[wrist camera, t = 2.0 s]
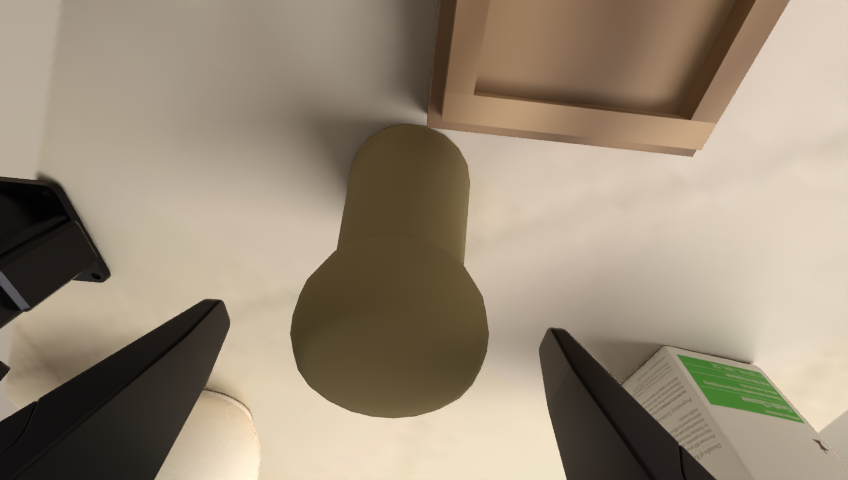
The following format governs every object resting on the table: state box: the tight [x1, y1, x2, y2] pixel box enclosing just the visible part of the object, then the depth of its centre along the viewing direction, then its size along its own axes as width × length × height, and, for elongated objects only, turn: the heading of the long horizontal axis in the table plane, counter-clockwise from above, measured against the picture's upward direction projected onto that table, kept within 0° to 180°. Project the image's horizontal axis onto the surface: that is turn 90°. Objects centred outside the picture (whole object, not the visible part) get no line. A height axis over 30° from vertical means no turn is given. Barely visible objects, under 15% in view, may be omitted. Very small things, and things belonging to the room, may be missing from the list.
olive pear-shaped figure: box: [290, 124, 489, 418], centre depth 12 cm, size 6×6×11 cm
